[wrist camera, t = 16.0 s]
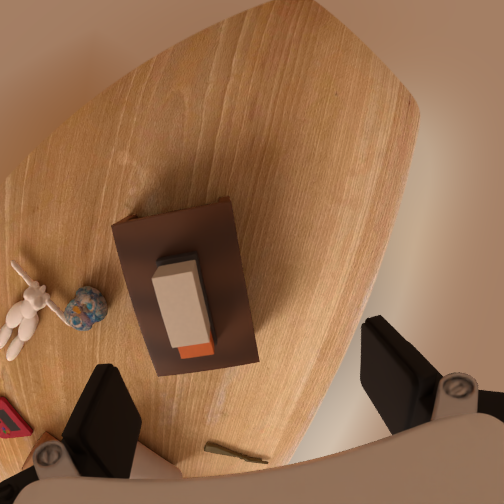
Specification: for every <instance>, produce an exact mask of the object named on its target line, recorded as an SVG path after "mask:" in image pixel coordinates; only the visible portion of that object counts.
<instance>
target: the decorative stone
mask: <svg viewBox="0 0 504 504" xmlns="http://www.w3.org/2000/svg"><path fill="white" fill-rule="evenodd" d="M106 315H107V303H106V301H105V298H104V297H103V296H102V294H101V293H100V292H99V291H98V290H97V289H94V288H92V287H90V286H85V287H82V288H79V289H78V290H77V292H76V297H75V299H73V300H71V301H70V303H69V304H68V305H67V307H66V308H65V311H64V316H65V319H66V322H67V323H68V324H69V325H70V326H71V327H73V328H74V329H76V330H79V331H87V330H89V329H91V328H92V325H93V324H94V323H95V322H99V321H101V320H103V319H104V318H105V316H106Z"/></svg>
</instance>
